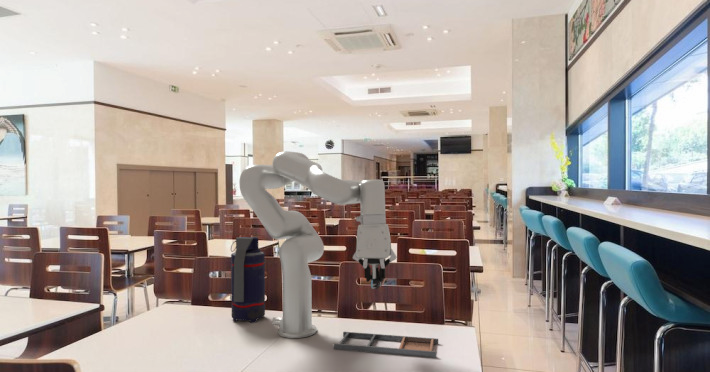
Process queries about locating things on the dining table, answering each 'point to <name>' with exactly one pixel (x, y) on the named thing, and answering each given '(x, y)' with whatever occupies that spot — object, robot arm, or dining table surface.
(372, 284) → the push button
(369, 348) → the divided tray
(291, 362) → the dining table surface
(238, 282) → the grenade
